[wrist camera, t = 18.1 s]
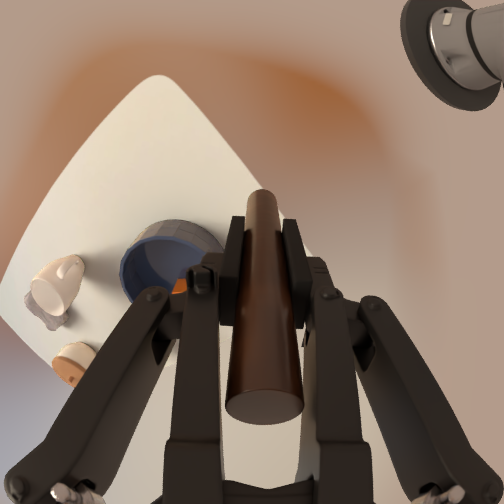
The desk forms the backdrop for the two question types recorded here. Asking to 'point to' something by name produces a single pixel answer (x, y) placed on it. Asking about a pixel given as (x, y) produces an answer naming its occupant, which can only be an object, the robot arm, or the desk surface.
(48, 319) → the stone block
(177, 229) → the stir bowl
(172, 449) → the robot arm
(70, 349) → the lidded bowl
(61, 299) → the mug
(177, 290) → the block
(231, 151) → the desk surface
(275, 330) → the stick
